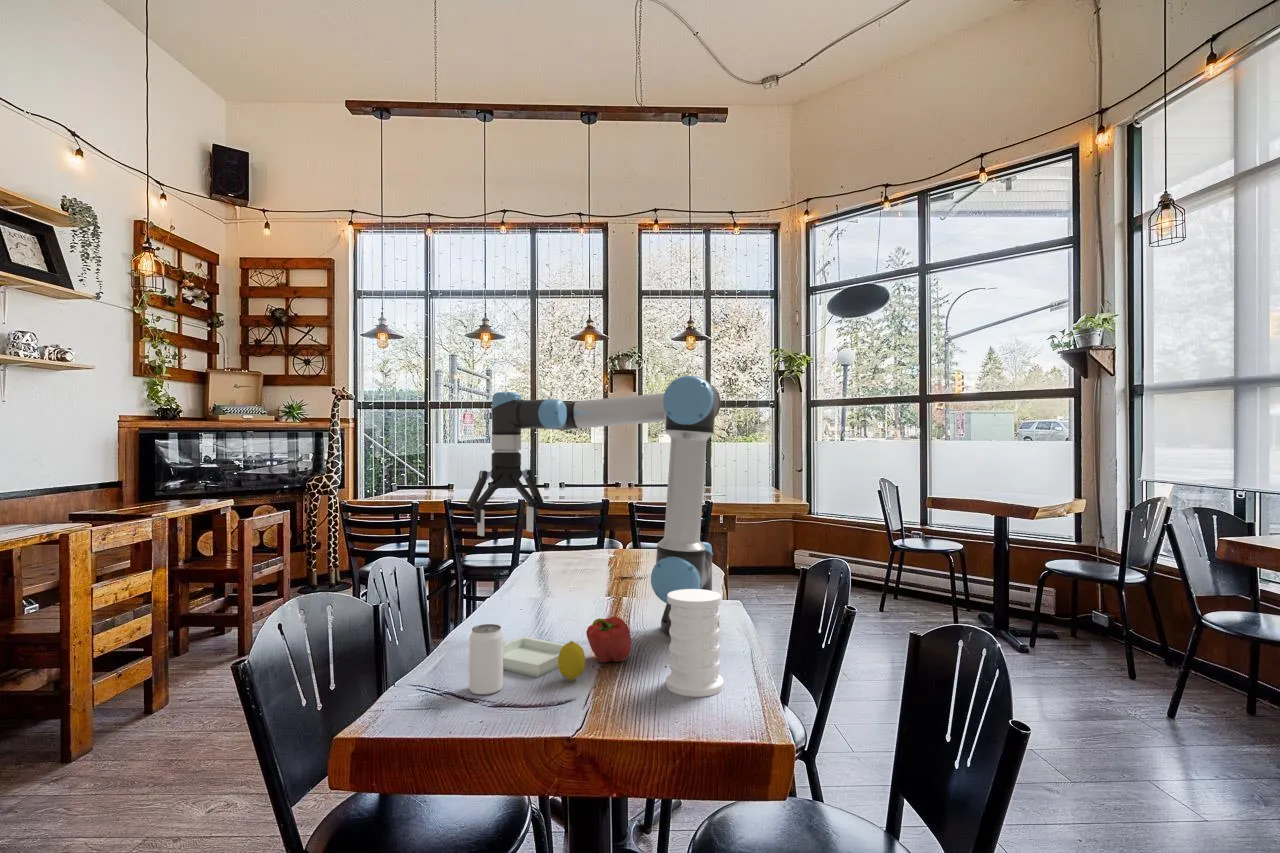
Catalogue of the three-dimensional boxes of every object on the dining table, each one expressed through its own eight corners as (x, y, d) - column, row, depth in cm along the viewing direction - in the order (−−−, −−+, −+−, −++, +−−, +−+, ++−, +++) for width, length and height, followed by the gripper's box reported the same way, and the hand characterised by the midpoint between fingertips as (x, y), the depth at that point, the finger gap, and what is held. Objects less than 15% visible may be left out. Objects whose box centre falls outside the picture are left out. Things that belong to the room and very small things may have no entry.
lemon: (555, 677, 130) (555, 638, 131) (581, 674, 132) (581, 636, 133) (561, 687, 125) (561, 646, 125) (588, 683, 127) (588, 643, 127)
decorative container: (720, 675, 132) (720, 588, 132) (726, 697, 120) (726, 602, 121) (665, 674, 132) (665, 588, 133) (666, 696, 120) (665, 601, 121)
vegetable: (610, 672, 133) (610, 625, 134) (574, 662, 140) (574, 617, 140) (641, 658, 142) (641, 614, 142) (606, 649, 148) (606, 607, 149)
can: (505, 683, 128) (505, 623, 128) (499, 695, 121) (499, 632, 122) (473, 683, 127) (473, 623, 128) (465, 696, 121) (466, 633, 121)
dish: (577, 657, 143) (577, 646, 143) (538, 677, 130) (538, 665, 131) (522, 646, 151) (522, 636, 151) (480, 664, 138) (480, 653, 138)
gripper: (542, 451, 175) (542, 528, 174) (454, 451, 160) (453, 535, 160) (555, 451, 169) (555, 531, 168) (464, 452, 154) (464, 539, 154)
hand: (505, 533), depth 164 cm, fingers open, 13 cm apart
